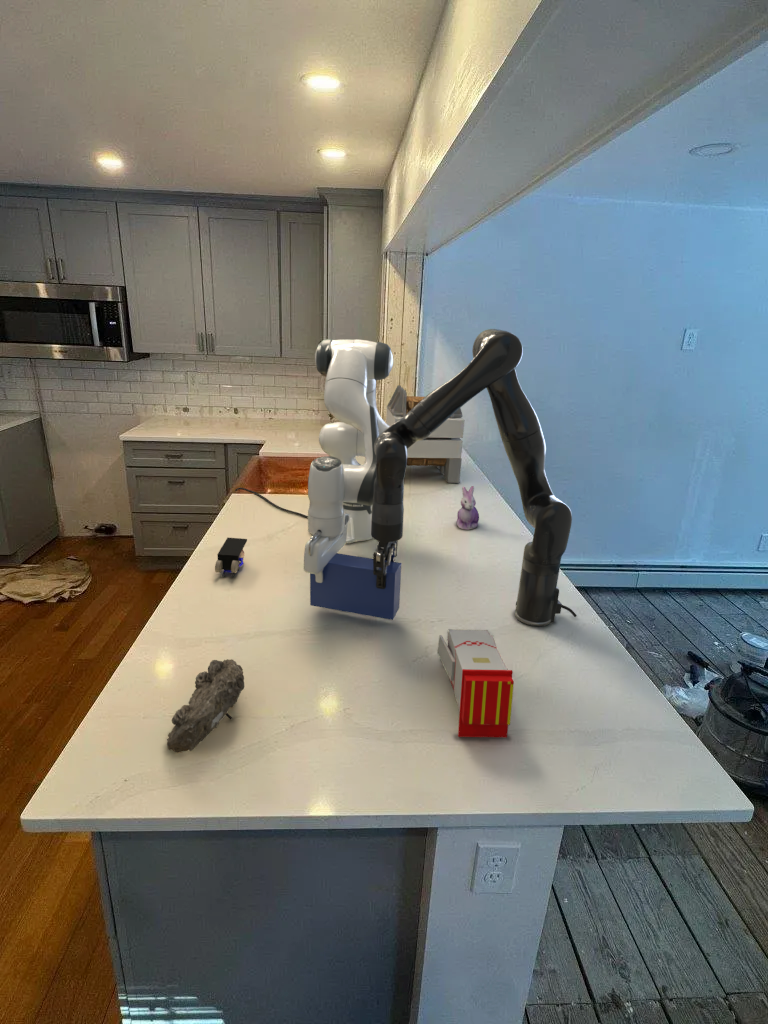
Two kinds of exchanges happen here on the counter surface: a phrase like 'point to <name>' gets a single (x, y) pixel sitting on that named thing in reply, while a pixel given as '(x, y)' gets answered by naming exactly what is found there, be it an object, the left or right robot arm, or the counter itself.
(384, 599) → the box
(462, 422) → the grey boxy piece
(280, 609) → the counter surface
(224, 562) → the figurine character
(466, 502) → the figurine
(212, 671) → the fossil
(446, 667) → the toy
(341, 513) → the left robot arm
